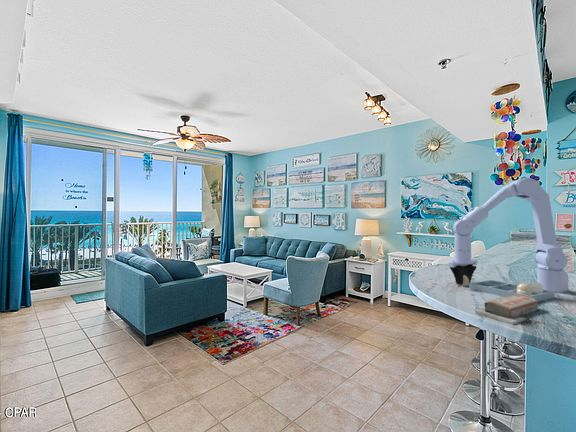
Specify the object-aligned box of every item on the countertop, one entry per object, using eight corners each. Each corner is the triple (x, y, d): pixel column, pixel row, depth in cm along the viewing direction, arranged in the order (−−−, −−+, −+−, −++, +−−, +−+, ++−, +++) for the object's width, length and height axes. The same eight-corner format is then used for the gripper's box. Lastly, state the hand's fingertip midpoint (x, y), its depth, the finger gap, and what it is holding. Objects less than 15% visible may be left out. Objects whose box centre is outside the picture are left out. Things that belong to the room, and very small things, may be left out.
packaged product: (508, 291, 91) (547, 299, 82) (508, 306, 91) (547, 316, 82) (473, 298, 84) (512, 308, 75) (474, 315, 83) (512, 326, 75)
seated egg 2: (531, 294, 100) (531, 279, 100) (545, 296, 96) (545, 282, 96) (525, 295, 98) (525, 281, 98) (539, 298, 95) (538, 283, 95)
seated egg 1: (521, 296, 97) (520, 281, 97) (535, 299, 94) (534, 284, 94) (514, 297, 96) (513, 282, 96) (528, 300, 92) (527, 285, 92)
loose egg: (461, 285, 117) (461, 273, 117) (471, 287, 113) (471, 275, 113) (455, 286, 115) (455, 274, 115) (464, 288, 112) (464, 276, 112)
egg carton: (491, 287, 114) (491, 279, 114) (554, 300, 95) (554, 291, 95) (469, 291, 108) (469, 283, 108) (531, 305, 90) (530, 296, 90)
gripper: (465, 248, 121) (465, 280, 121) (441, 250, 115) (441, 283, 115) (482, 249, 115) (482, 283, 114) (457, 251, 109) (458, 287, 109)
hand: (463, 283), depth 114 cm, fingers closed on loose egg, 4 cm apart
